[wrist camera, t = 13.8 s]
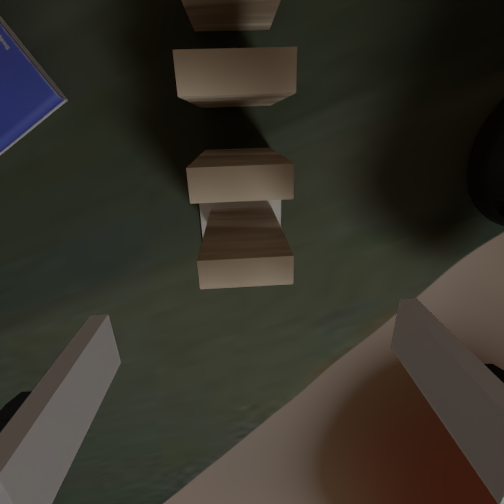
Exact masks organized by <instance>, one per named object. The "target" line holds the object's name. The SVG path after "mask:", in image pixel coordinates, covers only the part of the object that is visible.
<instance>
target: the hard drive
mask: <svg viewBox="0 0 504 504" xmlns="http://www.w3.org/2000/svg"><path fill="white" fill-rule="evenodd" d="M67 101H68V99H67V98H66V97H65V96H64V94H63V93H62V92H61V91H60V89H59V88H58V87H57V86H56V84H55V83H54V82H53V81H52V79H51V78H50V77H49V76H48V74H47V73H46V72H45V71H44V69H43V68H42V67H41V66H40V64H39V63H38V62H37V61H36V60H35V58H34V57H33V56H32V55H31V53H30V52H29V51H28V50H27V48H26V47H25V46H24V45H23V43H22V42H21V41H20V40H19V38H18V37H17V36H16V35H15V33H14V32H13V31H12V30H11V28H10V27H9V26H8V25H7V23H6V22H5V21H4V20H3V19H2V17H1V16H0V155H1V154H3V153H4V152H5V151H6V150H7V149H9V148H10V147H11V146H12V145H14V144H15V143H16V142H17V141H19V140H20V139H21V138H22V137H23V136H25V135H26V134H27V133H28V132H30V131H31V130H32V129H33V128H35V127H36V126H37V125H38V124H39V123H41V122H42V121H43V120H44V119H46V118H47V117H48V116H49V115H51V114H52V113H53V112H54V111H55V110H57V109H58V108H59V107H60V106H62V105H63V104H64V103H65V102H67Z"/></svg>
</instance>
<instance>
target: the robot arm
mask: <svg viewBox="0 0 504 504" xmlns="http://www.w3.org/2000/svg"><path fill="white" fill-rule="evenodd" d="M468 183H469V190H470V194H471V197H472V200H473V202H474V204H475V206H476V207H477V209H478V210H479V211H480V212H481V213H482V214H483V215H484V216H485V217H486V218H487V219H489V220H491V221H492V222H494V223H497V224H499V225H502V226H504V100H503V101H502V102H501V103H500V104H499V106H498V107H497V108H496V109H495V110H494V112H493V113H492V114H491V116H490V117H489V118H488V120H487V121H486V123H485V125H484V126H483V128H482V130H481V132H480V134H479V136H478V138H477V140H476V142H475V145H474V148H473V151H472V154H471V158H470V163H469V171H468ZM391 348H392V350H393V351H394V353H395V354H396V356H397V357H398V359H399V360H400V362H401V363H402V364H403V366H404V367H405V369H406V370H407V372H408V373H409V375H410V376H411V377H412V379H413V380H414V382H415V383H416V385H417V386H418V388H419V389H420V391H421V392H422V394H423V395H424V396H425V398H426V399H427V401H428V402H429V404H430V405H431V407H432V408H433V410H434V411H435V412H436V414H437V415H438V417H439V418H440V420H441V421H442V423H443V424H444V426H445V427H446V429H447V430H448V431H449V433H450V434H451V436H452V437H453V439H454V440H455V441H456V443H457V444H458V446H459V448H460V449H461V450H462V452H463V453H464V455H465V456H466V458H467V459H468V460H469V462H470V463H471V465H472V466H473V468H474V469H475V471H476V472H477V474H478V475H479V477H480V478H481V480H482V481H483V482H484V484H485V485H486V487H487V488H488V490H489V491H490V493H491V494H492V496H493V497H494V498H495V500H496V501H497V503H498V504H504V370H502V369H500V368H499V367H497V366H495V365H494V364H483V363H482V362H481V361H480V360H479V359H478V358H477V357H476V356H475V355H474V354H473V353H472V352H471V351H470V350H469V349H468V348H467V347H466V346H465V345H463V343H462V342H461V341H459V340H458V338H456V337H455V336H454V335H453V334H452V333H451V332H450V331H449V330H448V329H447V328H446V327H445V326H444V325H443V324H442V323H441V322H440V321H439V320H438V319H437V318H436V317H435V316H434V315H433V314H432V313H431V312H430V311H429V310H428V309H427V308H426V307H425V306H424V305H423V304H422V303H421V302H420V301H418V299H416V298H414V299H400V301H399V306H398V312H397V317H396V322H395V327H394V333H393V338H392V343H391ZM120 363H121V361H120V357H119V353H118V349H117V346H116V342H115V338H114V334H113V331H112V327H111V323H110V319H109V315H108V314H105V315H90V317H89V318H88V319H87V321H86V322H85V323H84V325H83V326H82V327H81V328H80V330H79V331H78V332H77V334H76V335H75V336H74V338H73V339H72V340H71V341H70V343H69V344H68V345H67V347H66V348H65V349H64V351H63V352H62V353H61V354H60V356H59V357H58V358H57V360H56V361H55V362H54V364H53V365H52V366H51V368H50V369H49V370H48V371H47V373H46V374H45V375H44V377H43V378H42V379H41V381H40V382H39V383H38V384H37V386H36V387H35V388H34V390H33V391H31V392H21V393H20V394H19V395H17V396H16V397H15V398H13V399H12V400H11V401H10V402H8V403H7V404H6V405H5V406H4V407H3V408H2V409H1V411H0V504H52V502H53V500H54V498H55V496H56V494H57V492H58V490H59V488H60V486H61V484H62V482H63V480H64V478H65V476H66V474H67V472H68V470H69V467H70V465H71V463H72V461H73V459H74V457H75V455H76V453H77V451H78V449H79V447H80V445H81V443H82V441H83V439H84V437H85V435H86V433H87V431H88V429H89V427H90V425H91V423H92V420H93V418H94V416H95V414H96V412H97V410H98V408H99V406H100V404H101V402H102V400H103V398H104V396H105V394H106V392H107V390H108V388H109V386H110V384H111V382H112V380H113V378H114V376H115V374H116V371H117V369H118V367H119V365H120Z"/></svg>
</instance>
